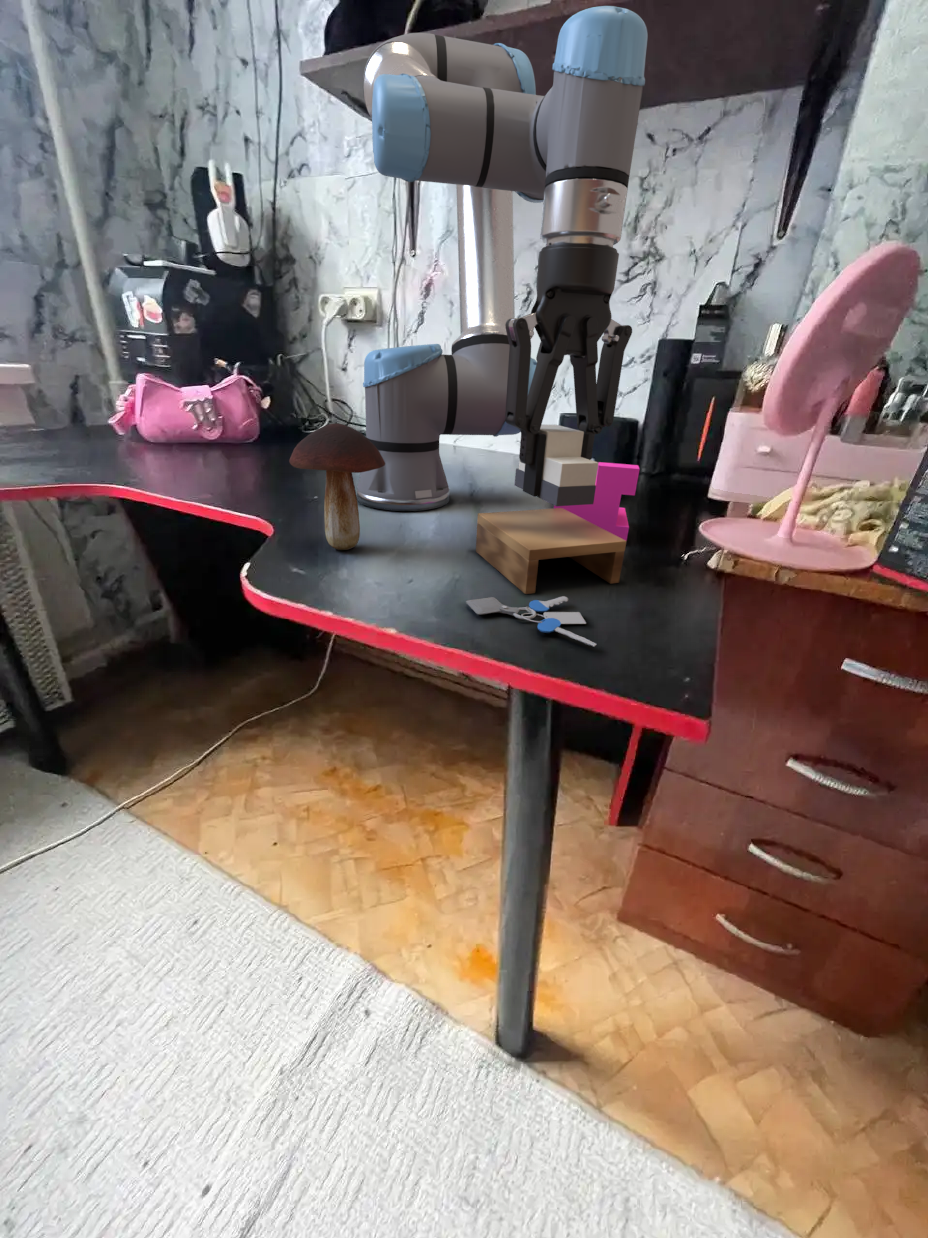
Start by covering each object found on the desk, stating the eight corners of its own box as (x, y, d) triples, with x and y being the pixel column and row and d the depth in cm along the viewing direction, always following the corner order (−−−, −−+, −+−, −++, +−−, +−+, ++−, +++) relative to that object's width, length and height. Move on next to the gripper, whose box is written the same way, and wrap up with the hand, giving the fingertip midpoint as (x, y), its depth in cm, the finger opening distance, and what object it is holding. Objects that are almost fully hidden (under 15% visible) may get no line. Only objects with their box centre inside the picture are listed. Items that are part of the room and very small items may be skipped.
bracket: (625, 545, 75) (639, 468, 70) (550, 537, 76) (558, 462, 72) (621, 521, 85) (633, 453, 81) (555, 514, 87) (562, 448, 82)
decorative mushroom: (400, 542, 72) (399, 422, 65) (361, 570, 62) (355, 433, 56) (326, 531, 75) (318, 415, 68) (278, 556, 65) (263, 424, 59)
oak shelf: (475, 551, 70) (477, 513, 68) (557, 544, 74) (561, 507, 72) (525, 594, 58) (529, 549, 56) (619, 582, 62) (626, 540, 60)
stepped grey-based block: (514, 485, 65) (519, 423, 62) (548, 483, 67) (554, 423, 64) (556, 506, 57) (564, 436, 54) (593, 504, 59) (603, 436, 56)
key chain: (456, 611, 53) (456, 603, 53) (494, 584, 60) (495, 577, 60) (594, 652, 47) (595, 643, 47) (620, 617, 54) (622, 609, 53)
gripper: (512, 228, 46) (494, 505, 56) (681, 250, 52) (636, 496, 62) (478, 242, 52) (467, 488, 62) (632, 260, 58) (599, 482, 68)
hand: (551, 492), depth 62 cm, fingers closed on stepped grey-based block, 5 cm apart
